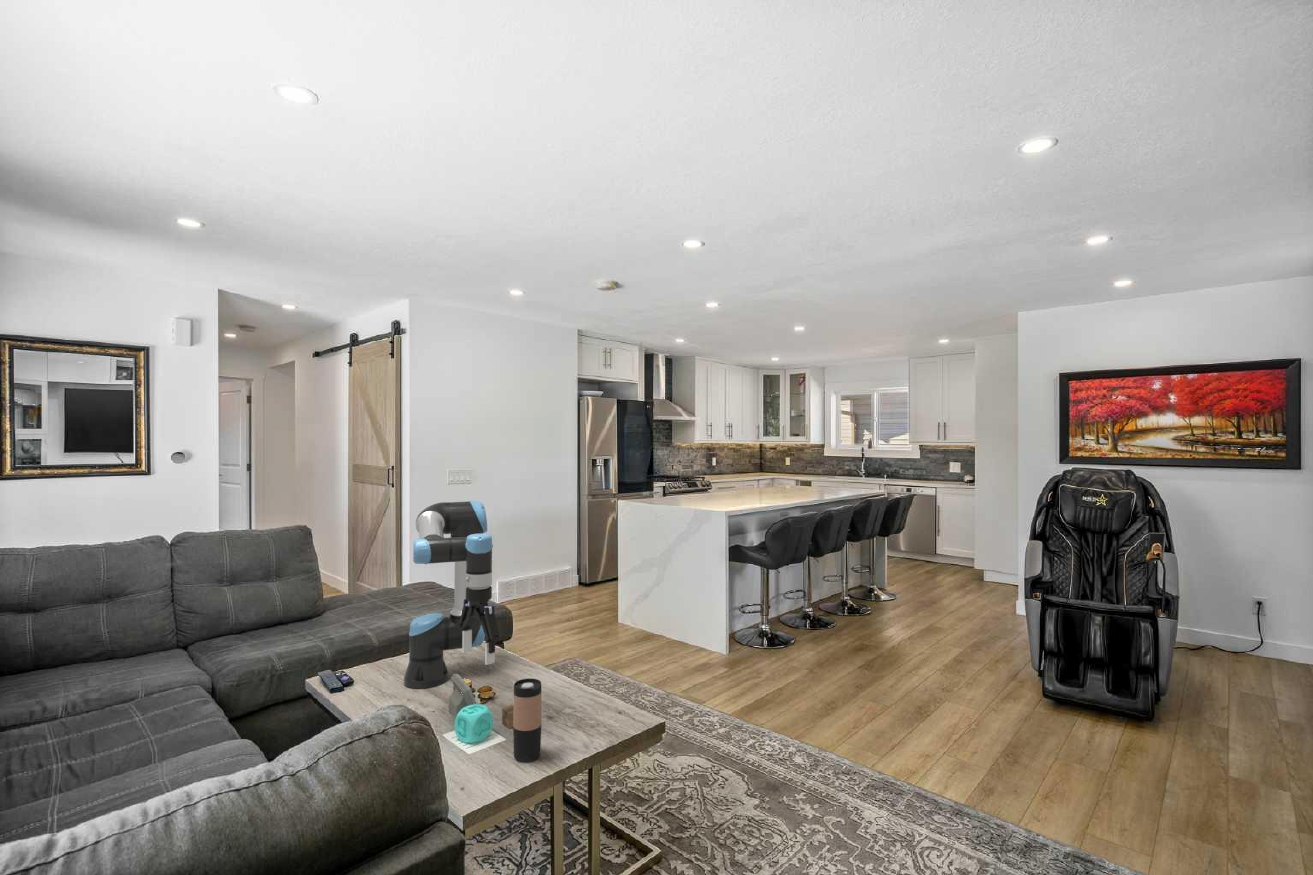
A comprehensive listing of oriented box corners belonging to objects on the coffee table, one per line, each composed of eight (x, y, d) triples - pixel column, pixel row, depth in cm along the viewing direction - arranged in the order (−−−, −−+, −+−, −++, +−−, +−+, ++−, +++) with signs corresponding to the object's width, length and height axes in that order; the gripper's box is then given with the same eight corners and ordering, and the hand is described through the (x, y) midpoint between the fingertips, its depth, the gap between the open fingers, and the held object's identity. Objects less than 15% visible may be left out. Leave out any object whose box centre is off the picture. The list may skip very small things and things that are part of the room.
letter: (441, 735, 181) (441, 734, 181) (478, 722, 190) (478, 721, 190) (468, 754, 170) (468, 753, 170) (506, 740, 179) (506, 739, 179)
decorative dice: (493, 735, 181) (493, 708, 181) (472, 746, 175) (472, 718, 175) (475, 728, 186) (475, 701, 186) (453, 738, 179) (453, 711, 179)
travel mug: (515, 749, 173) (515, 678, 174) (542, 748, 174) (543, 677, 174) (511, 763, 166) (511, 689, 166) (539, 762, 166) (540, 688, 167)
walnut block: (502, 724, 189) (502, 707, 189) (517, 719, 192) (517, 703, 192) (508, 730, 185) (508, 713, 185) (523, 725, 188) (524, 709, 188)
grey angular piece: (481, 721, 191) (481, 686, 192) (450, 725, 188) (451, 690, 188) (476, 700, 206) (476, 669, 207) (447, 704, 203) (448, 672, 203)
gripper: (447, 581, 190) (446, 649, 190) (489, 596, 172) (488, 672, 172) (469, 577, 195) (469, 644, 195) (512, 591, 178) (511, 665, 178)
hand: (478, 657), depth 184 cm, fingers open, 13 cm apart
